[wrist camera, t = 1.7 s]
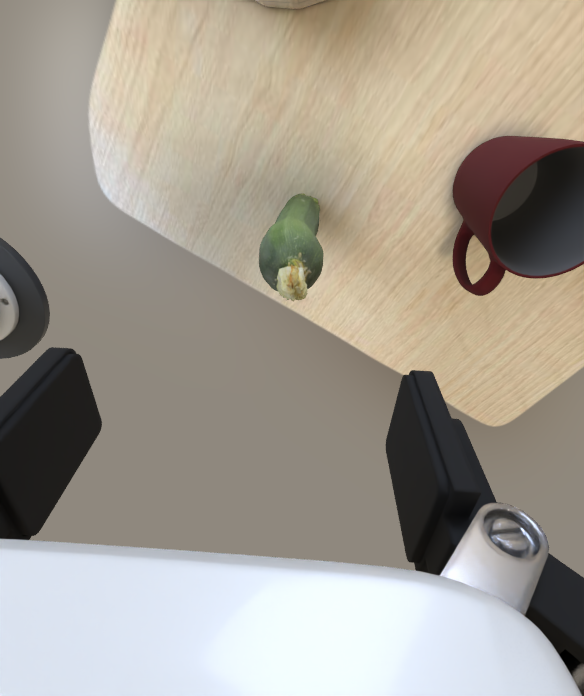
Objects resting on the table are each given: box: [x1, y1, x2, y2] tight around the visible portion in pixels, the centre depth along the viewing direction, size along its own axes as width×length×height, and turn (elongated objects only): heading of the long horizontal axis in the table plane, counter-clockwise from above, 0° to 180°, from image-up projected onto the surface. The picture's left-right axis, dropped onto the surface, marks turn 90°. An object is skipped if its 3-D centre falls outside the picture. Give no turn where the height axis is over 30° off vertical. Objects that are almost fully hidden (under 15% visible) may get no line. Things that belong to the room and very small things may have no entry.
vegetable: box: [259, 194, 323, 302], centre depth 29 cm, size 4×4×20 cm
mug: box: [453, 136, 584, 296], centre depth 32 cm, size 12×9×11 cm
